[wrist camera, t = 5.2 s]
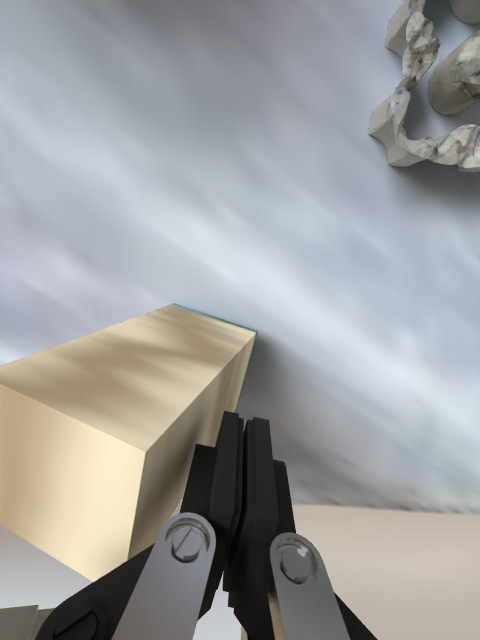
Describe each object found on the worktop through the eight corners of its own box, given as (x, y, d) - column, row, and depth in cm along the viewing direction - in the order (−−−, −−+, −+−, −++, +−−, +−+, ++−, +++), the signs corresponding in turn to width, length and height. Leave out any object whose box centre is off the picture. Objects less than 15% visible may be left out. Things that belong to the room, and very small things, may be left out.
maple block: (257, 331, 16) (145, 452, 7) (236, 410, 17) (120, 598, 8) (174, 303, 17) (-22, 373, 8) (160, 380, 19) (-16, 515, 9)
